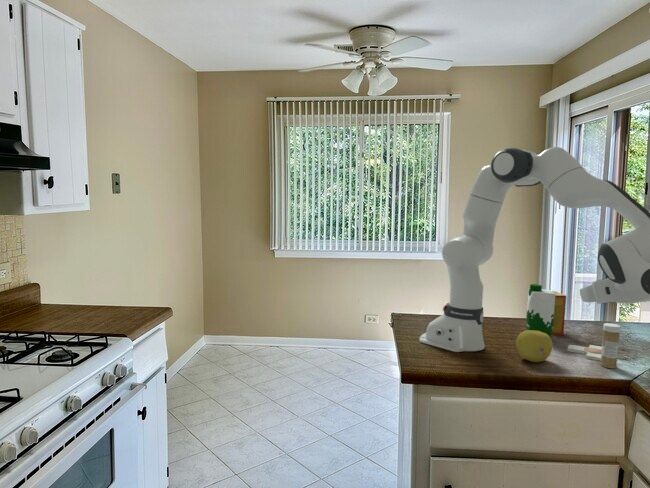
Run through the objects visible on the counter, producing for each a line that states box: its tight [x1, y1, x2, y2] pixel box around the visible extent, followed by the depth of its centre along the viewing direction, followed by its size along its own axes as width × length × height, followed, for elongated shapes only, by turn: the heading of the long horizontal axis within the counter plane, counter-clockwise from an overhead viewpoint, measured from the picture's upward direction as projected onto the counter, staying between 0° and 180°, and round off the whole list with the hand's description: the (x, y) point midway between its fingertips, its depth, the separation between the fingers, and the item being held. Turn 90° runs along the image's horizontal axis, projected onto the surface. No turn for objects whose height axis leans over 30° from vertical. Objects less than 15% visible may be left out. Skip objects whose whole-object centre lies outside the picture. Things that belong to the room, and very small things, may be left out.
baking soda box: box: [551, 290, 567, 336], centre depth 179 cm, size 10×6×16 cm
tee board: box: [567, 344, 602, 362], centre depth 155 cm, size 11×14×1 cm
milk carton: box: [525, 283, 555, 339], centre depth 171 cm, size 9×9×20 cm
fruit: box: [515, 329, 553, 363], centre depth 146 cm, size 10×11×10 cm
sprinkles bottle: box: [599, 322, 622, 369], centre depth 142 cm, size 5×5×13 cm
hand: (609, 291), depth 138 cm, fingers open, 8 cm apart
